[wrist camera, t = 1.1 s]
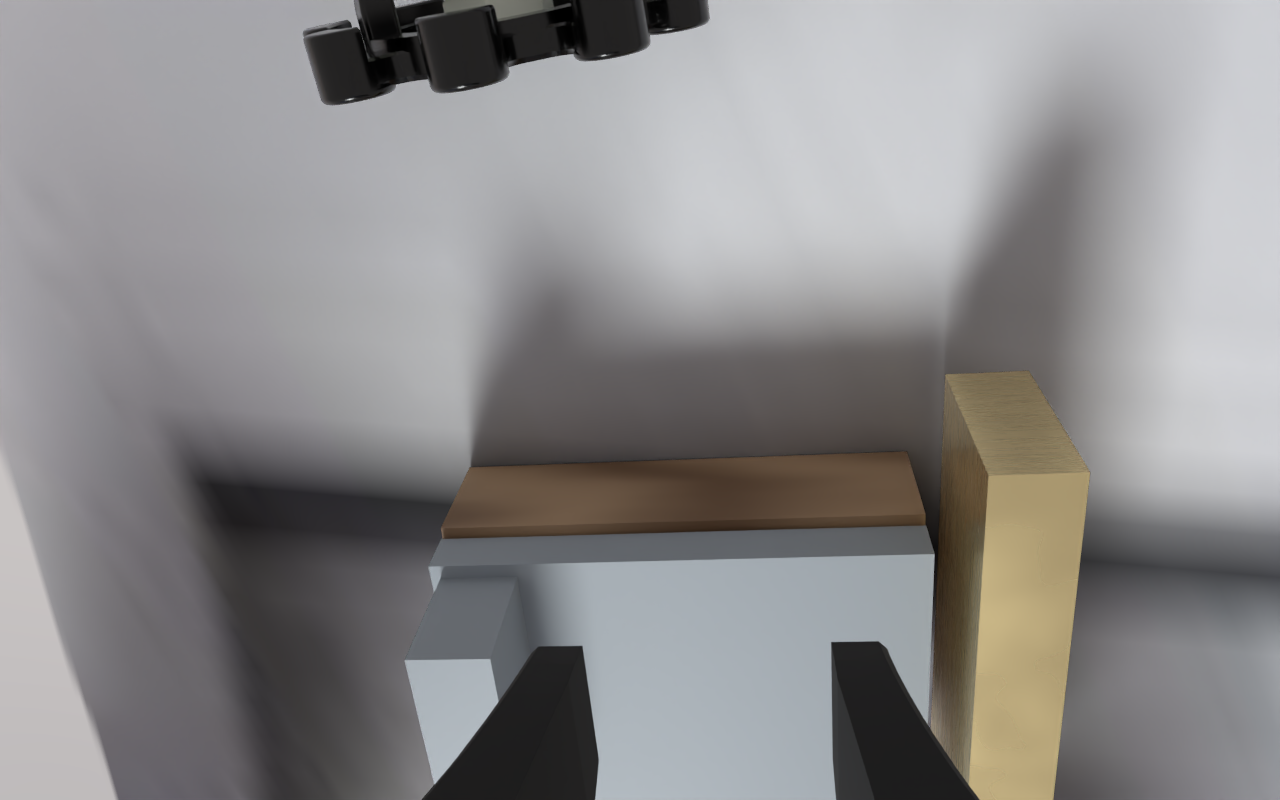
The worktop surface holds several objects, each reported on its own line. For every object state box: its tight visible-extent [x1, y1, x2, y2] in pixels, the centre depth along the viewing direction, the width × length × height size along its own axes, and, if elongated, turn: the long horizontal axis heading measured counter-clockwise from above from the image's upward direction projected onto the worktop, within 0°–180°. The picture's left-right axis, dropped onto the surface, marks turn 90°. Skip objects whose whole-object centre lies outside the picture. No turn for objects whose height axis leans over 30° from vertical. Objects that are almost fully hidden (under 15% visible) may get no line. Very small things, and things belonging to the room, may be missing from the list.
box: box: [441, 451, 926, 539], centre depth 24 cm, size 10×7×3 cm
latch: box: [931, 371, 1090, 800], centre depth 21 cm, size 2×14×5 cm, turn 5°
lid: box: [405, 525, 935, 800], centre depth 21 cm, size 10×7×4 cm, turn 95°
